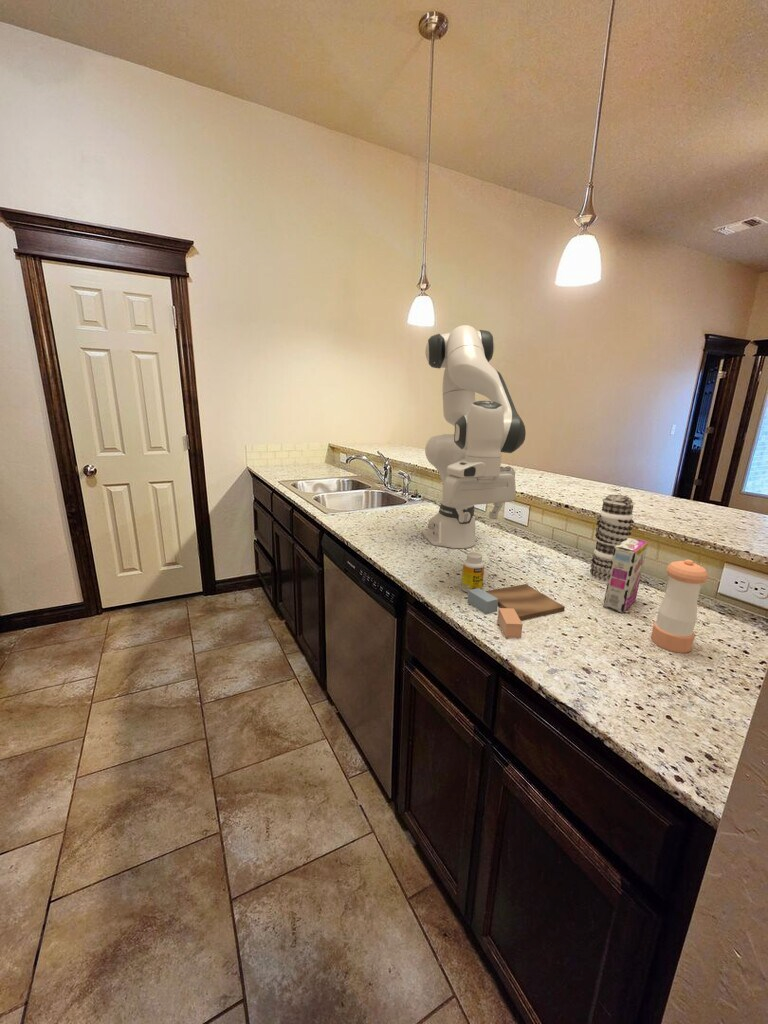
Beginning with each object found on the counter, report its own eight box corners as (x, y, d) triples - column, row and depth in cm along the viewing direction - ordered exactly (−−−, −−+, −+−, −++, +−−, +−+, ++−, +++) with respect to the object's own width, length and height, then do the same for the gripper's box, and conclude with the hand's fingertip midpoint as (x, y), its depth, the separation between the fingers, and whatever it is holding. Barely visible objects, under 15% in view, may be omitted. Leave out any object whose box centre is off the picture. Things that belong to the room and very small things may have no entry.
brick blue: (467, 602, 105) (468, 590, 104) (477, 600, 107) (478, 587, 106) (486, 615, 99) (487, 601, 98) (497, 611, 101) (498, 598, 100)
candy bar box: (624, 614, 101) (636, 551, 97) (602, 607, 104) (613, 546, 100) (637, 600, 108) (649, 541, 104) (616, 594, 112) (627, 536, 108)
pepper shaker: (683, 657, 84) (704, 569, 79) (644, 640, 90) (662, 558, 85) (696, 645, 88) (717, 562, 83) (659, 630, 94) (676, 551, 89)
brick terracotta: (497, 621, 97) (498, 607, 96) (512, 621, 96) (513, 608, 96) (504, 637, 90) (506, 623, 89) (520, 638, 90) (522, 624, 89)
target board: (483, 595, 109) (483, 591, 109) (525, 587, 114) (525, 583, 114) (518, 621, 97) (519, 616, 96) (564, 611, 102) (564, 606, 101)
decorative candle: (622, 576, 123) (637, 495, 117) (623, 588, 116) (639, 501, 109) (588, 570, 128) (601, 491, 121) (587, 580, 120) (600, 497, 113)
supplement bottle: (471, 596, 108) (474, 560, 106) (457, 588, 113) (459, 553, 110) (486, 591, 111) (489, 556, 109) (471, 583, 116) (474, 549, 113)
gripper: (507, 464, 110) (503, 514, 114) (441, 467, 103) (438, 520, 106) (523, 467, 105) (518, 520, 108) (454, 470, 97) (451, 526, 100)
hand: (478, 520), depth 107 cm, fingers open, 8 cm apart
